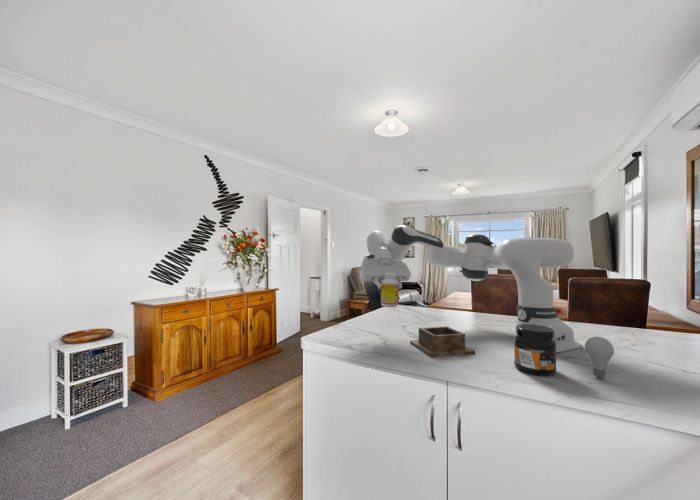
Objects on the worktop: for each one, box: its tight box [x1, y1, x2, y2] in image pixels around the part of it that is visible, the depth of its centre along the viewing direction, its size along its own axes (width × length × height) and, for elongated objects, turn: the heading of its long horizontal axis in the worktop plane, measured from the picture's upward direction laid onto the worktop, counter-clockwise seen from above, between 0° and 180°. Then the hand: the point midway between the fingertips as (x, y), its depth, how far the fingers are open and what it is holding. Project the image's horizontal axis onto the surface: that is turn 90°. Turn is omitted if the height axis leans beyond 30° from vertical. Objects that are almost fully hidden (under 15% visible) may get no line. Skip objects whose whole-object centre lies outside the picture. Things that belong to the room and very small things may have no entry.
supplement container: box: [513, 324, 557, 377], centre depth 89 cm, size 10×10×12 cm
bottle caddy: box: [409, 325, 476, 359], centre depth 109 cm, size 16×16×6 cm
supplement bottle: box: [380, 273, 399, 308], centre depth 121 cm, size 7×7×13 cm
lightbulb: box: [584, 336, 615, 379], centre depth 83 cm, size 6×6×11 cm
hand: (390, 287), depth 120 cm, fingers closed on supplement bottle, 7 cm apart
